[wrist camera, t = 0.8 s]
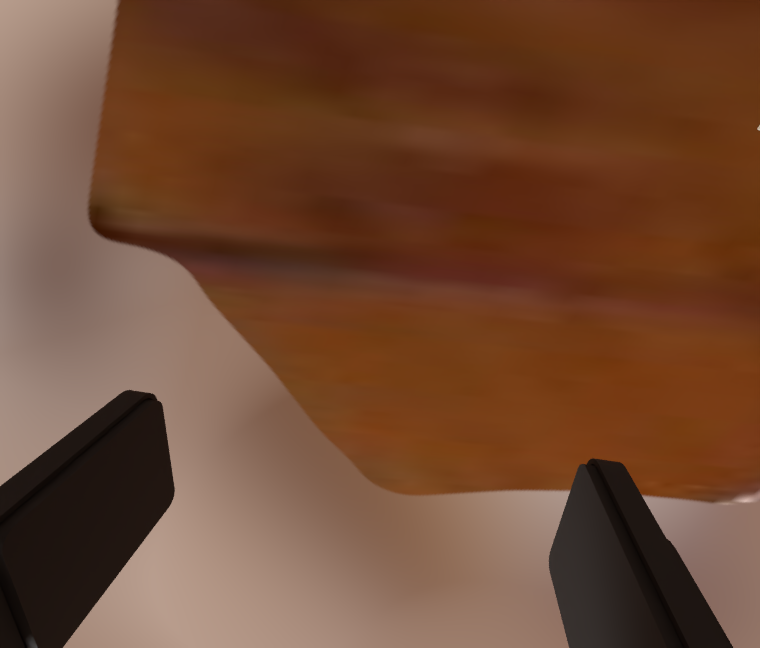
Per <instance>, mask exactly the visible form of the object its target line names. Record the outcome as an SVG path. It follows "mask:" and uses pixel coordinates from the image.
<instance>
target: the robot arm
mask: <svg viewBox="0 0 760 648" xmlns="http://www.w3.org/2000/svg"><path fill="white" fill-rule="evenodd" d="M174 491H175V490H174V482H173V476H172V468H171V461H170V454H169V447H168V440H167V434H166V426H165V419H164V412H163V406H162V403H161V402H159V401H157V399H156V397H155V395H154V394H151V393H145V392H139V391H132V390H127V391H124V392H122V393H121V394H119V395H118V396H117V397H116V398H114V399H113V400H112V401H110V402H109V403H108V404H106V405H105V406H104V407H103V408H101V409H100V410H99V411H98V412H96V413H95V414H94V415H92V416H91V417H90V418H88V419H87V420H86V421H84V422H83V423H82V424H81V425H79V426H78V427H77V428H75V429H74V430H73V431H71V432H70V433H69V434H68V435H66V436H65V437H64V438H62V439H61V440H60V441H59V442H57V443H56V444H55V445H53V446H52V447H51V448H50V449H48V450H47V451H46V452H44V453H43V454H42V455H40V456H39V457H38V458H36V459H35V460H34V461H32V463H30V464H29V465H27V466H26V467H25V468H23V469H22V470H21V471H19V472H18V473H17V474H16V475H14V476H13V477H12V478H10V479H9V480H8V481H6V482H5V483H4V484H3V485H1V486H0V648H63V646H64V645H65V644H66V642H67V641H68V640H69V639H70V637H71V636H72V635H73V633H74V632H75V630H76V629H77V628H78V627H79V625H80V624H81V623H82V621H83V620H84V619H85V617H86V616H87V615H88V613H89V612H90V611H91V609H92V608H93V607H94V605H95V604H96V603H97V602H98V600H99V599H100V597H101V596H102V595H103V594H104V592H105V591H106V590H107V588H108V587H109V586H110V584H111V583H112V582H113V580H114V579H115V578H116V576H117V575H118V574H119V572H120V571H121V570H122V568H123V567H124V566H125V565H126V563H127V562H128V560H129V559H130V558H131V557H132V555H133V554H134V552H135V551H136V550H137V549H138V547H139V546H140V545H141V543H142V542H143V541H144V539H145V538H146V537H147V535H148V534H149V533H150V531H151V530H152V529H153V527H154V526H155V525H156V523H157V522H158V521H159V519H160V518H161V517H162V516H163V514H164V513H165V512H166V510H167V509H168V508H169V506H170V504H171V502H172V500H173V497H174ZM549 569H550V574H551V578H552V582H553V586H554V589H555V594H556V597H557V601H558V606H559V609H560V613H561V617H562V621H563V625H564V629H565V633H566V637H567V641H568V644H569V648H733V646H732V645H731V643H730V641H729V640H728V638H727V636H726V634H725V633H724V631H723V629H722V627H721V626H720V624H719V622H718V621H717V619H716V617H715V615H714V614H713V612H712V610H711V609H710V607H709V605H708V603H707V602H706V600H705V598H704V596H703V595H702V593H701V591H700V590H699V588H698V586H697V584H696V583H695V581H694V579H693V578H692V576H691V574H690V572H689V571H688V569H687V567H686V566H685V564H684V562H683V561H682V559H681V557H680V555H679V554H678V552H677V550H676V549H675V547H674V546H673V545H672V543H671V542H670V541H669V540H668V539H666V537H665V535H664V534H663V532H662V530H661V529H660V527H659V525H658V523H657V522H656V520H655V518H654V516H653V515H652V513H651V511H650V509H649V508H648V506H647V504H646V502H645V501H644V499H643V497H642V495H641V494H640V492H639V490H638V488H637V487H636V485H635V483H634V481H633V480H632V478H631V476H630V475H629V473H628V471H627V469H626V468H625V466H624V465H623V464H622V463H620V462H614V461H607V460H600V459H590V460H589V461H588V463H587V465H586V464H581V465H580V466H579V468H578V470H577V473H576V476H575V479H574V482H573V485H572V488H571V491H570V494H569V497H568V500H567V503H566V506H565V509H564V512H563V515H562V518H561V521H560V524H559V527H558V530H557V533H556V536H555V539H554V542H553V545H552V548H551V551H550V555H549Z"/></svg>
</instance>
